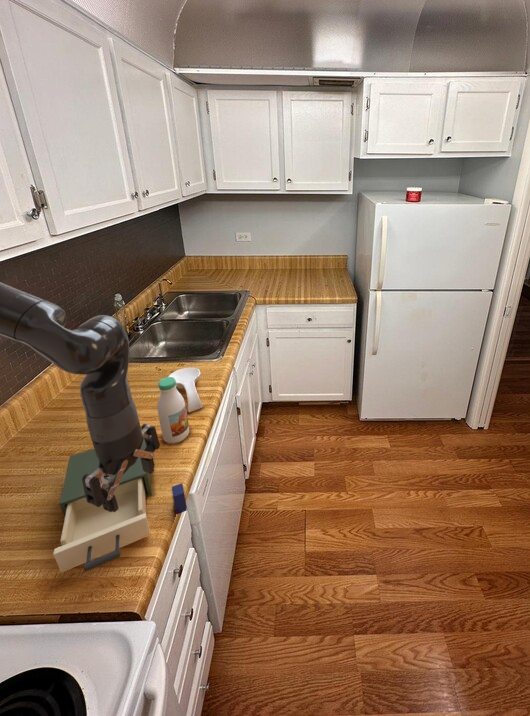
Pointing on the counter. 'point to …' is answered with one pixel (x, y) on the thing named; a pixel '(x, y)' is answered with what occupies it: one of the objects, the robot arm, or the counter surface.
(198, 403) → the white curved piece
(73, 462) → the cabinet
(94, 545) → the drawer
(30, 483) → the counter surface
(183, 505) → the blue block with post
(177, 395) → the milk bottle
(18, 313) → the robot arm
